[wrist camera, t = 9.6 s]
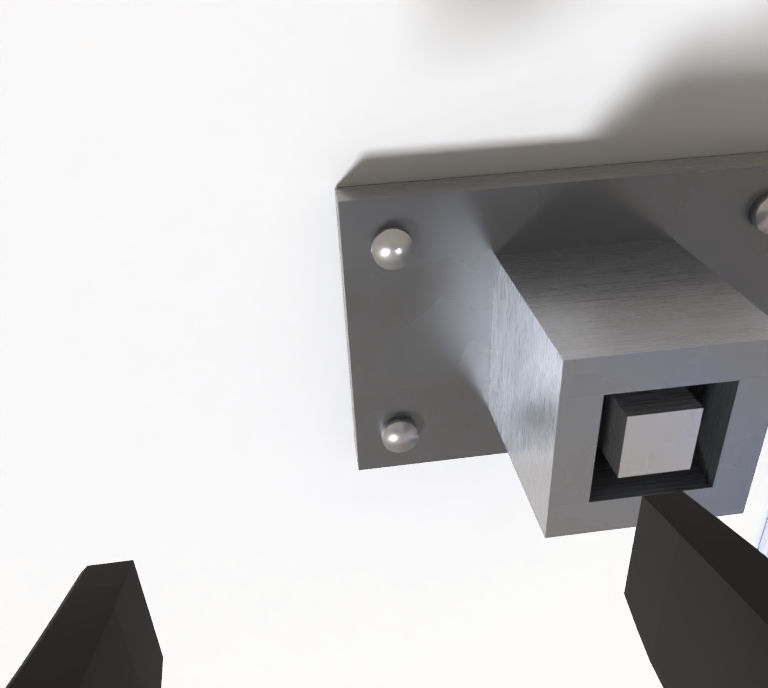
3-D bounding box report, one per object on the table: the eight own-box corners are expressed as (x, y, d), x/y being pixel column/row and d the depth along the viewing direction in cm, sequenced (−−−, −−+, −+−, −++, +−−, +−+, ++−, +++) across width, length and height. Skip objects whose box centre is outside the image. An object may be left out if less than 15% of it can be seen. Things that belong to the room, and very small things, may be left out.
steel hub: (672, 238, 18) (792, 336, 14) (646, 389, 21) (742, 512, 17) (494, 254, 18) (563, 360, 14) (487, 407, 20) (545, 537, 16)
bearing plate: (801, 148, 19) (1000, 237, 14) (738, 403, 23) (872, 545, 18) (334, 187, 18) (359, 299, 13) (355, 448, 22) (380, 612, 17)
